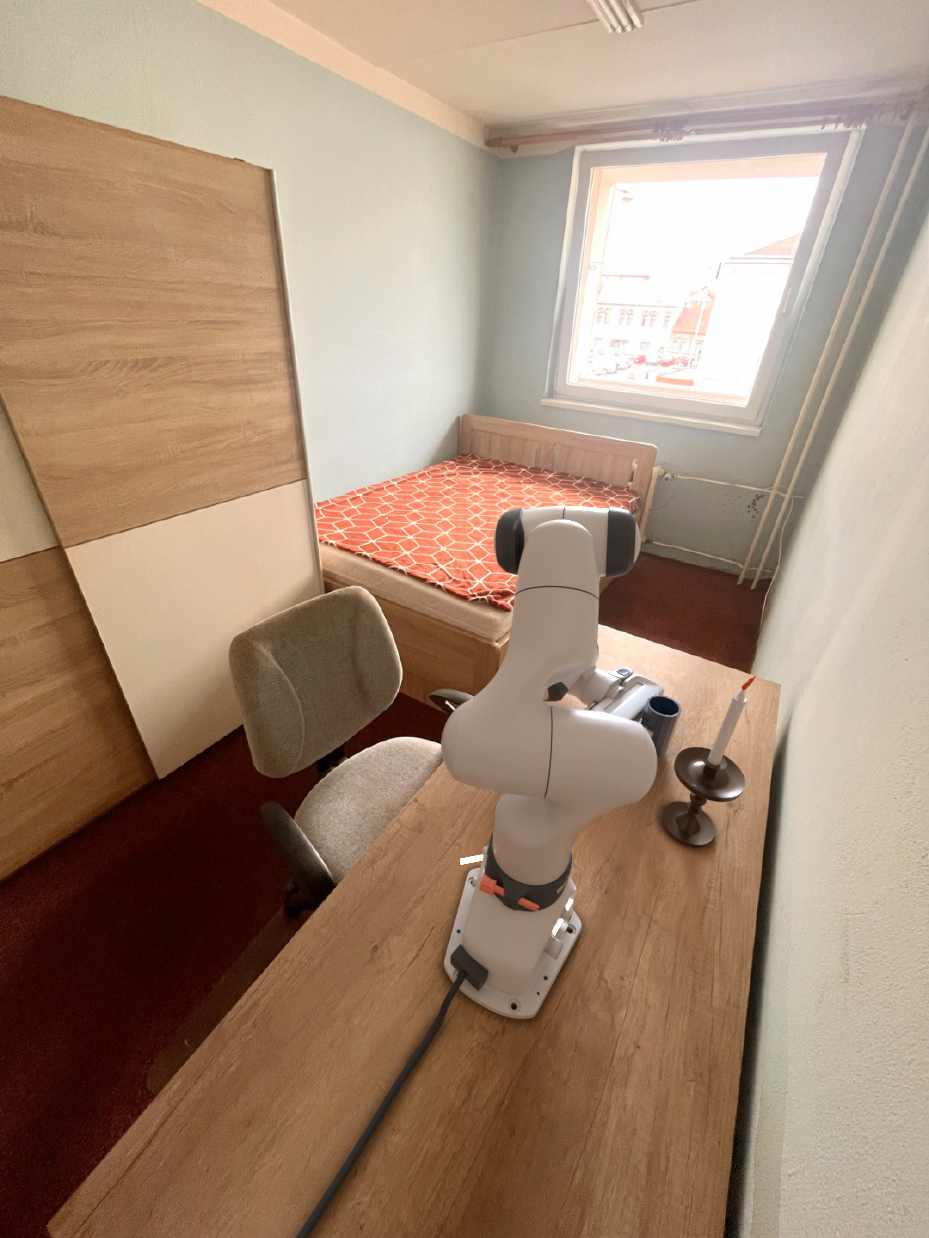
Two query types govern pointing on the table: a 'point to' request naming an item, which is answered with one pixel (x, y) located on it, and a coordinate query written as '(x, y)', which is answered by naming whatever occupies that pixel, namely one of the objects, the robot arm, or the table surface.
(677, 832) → the candlestick
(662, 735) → the cup
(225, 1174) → the table surface
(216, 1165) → the table surface
